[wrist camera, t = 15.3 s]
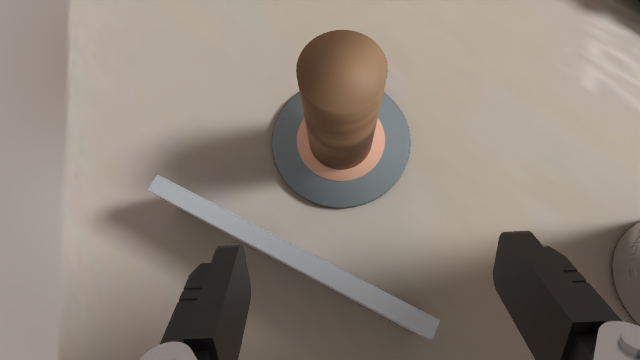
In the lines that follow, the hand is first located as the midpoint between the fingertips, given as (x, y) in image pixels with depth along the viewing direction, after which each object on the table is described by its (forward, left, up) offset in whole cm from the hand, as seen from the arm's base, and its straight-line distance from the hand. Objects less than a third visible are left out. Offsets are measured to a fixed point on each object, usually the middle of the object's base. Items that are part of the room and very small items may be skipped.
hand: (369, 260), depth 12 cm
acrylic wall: (+5, 0, -17) cm, 17 cm away
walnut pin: (+6, -10, -16) cm, 20 cm away
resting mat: (+6, -10, -17) cm, 20 cm away
